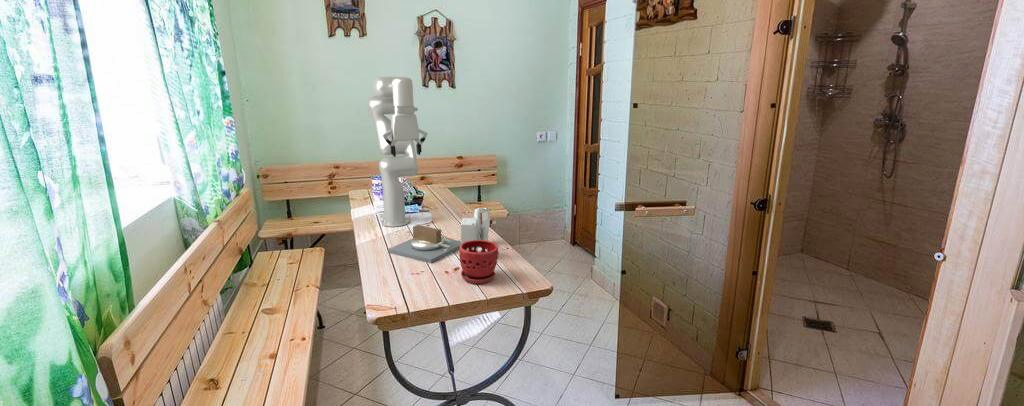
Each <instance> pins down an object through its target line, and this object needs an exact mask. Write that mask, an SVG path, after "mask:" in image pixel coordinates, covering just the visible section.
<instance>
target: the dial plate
mask: <svg viewBox="0 0 1024 406" xmlns="http://www.w3.org/2000/svg"><path fill="white" fill-rule="evenodd" d="M443 238H444V244H445V245H450V247H449V248H447V247H443V246H442V247H441V248H438V249H435V250H428V251H422V250H416V249H413V248H412V247H411V240H412V239H413V238H411V239H409V240H406V241H404V242H401V243H399V244H396V245H394V246H392V247H389V248H387V253H388V254H392V255H395V256H396V255H397V256H400V257H404V258H409V259H413V260H417V261H420V262H424V263H428V264H433V263H435V262H437V261H439V260H440V259H443V258H445V257H447V256H448V255H450V254H451V255H452V254H453V253H455V252H457V251H459V249H460V245H461V240H457V239H452V238H448V237H443Z"/></svg>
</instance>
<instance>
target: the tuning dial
mask: <svg viewBox="0 0 1024 406" xmlns="http://www.w3.org/2000/svg"><path fill="white" fill-rule="evenodd" d="M412 233H413V236H412V238H411V239H412V240H411V247H412V248H413V249H416V250H422V251H428V250H435V249H438V248H441V247H442V246H443V247H447V248H449V247H450V245H445V244H444V238H445V237H443V236H442V229H441V228H440V229H439V228H435V227H430V226H424V225H420V224H417V225H415V226H412Z"/></svg>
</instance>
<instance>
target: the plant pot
mask: <svg viewBox="0 0 1024 406" xmlns="http://www.w3.org/2000/svg"><path fill="white" fill-rule="evenodd" d="M473 247H474V250H472V248H473ZM477 247H478V248H480V249H481V251H478V252H477V251H476V248H477ZM467 248H468V249H469V250H468V251H466V250H467ZM458 251H459V263H460V266H461V269H462V270H461V271H460V272H461V273H460V276H461V278H462V279H463V280H464V281H465V282H468V283H470V284H471V283H472V284H484V283H488V282H490V281H492V280H493V279H494V278H495V276H496V272H495V269H496V268H497V264H498V260H499V259H498V257H499V246H498V244H496V243H495V242H493V241H489V240H488V241H485V240H472V241H467V242H464V243H462V244H461V245H460V249H459V250H458ZM463 259H464V260H463Z"/></svg>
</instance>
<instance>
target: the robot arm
mask: <svg viewBox="0 0 1024 406" xmlns="http://www.w3.org/2000/svg"><path fill="white" fill-rule="evenodd" d="M372 83H373V84H372V89H373V91H374V94H375V96H374V95H373V96H372V97H370V98H369V99H368V100H367V110H368V113H369V117H370V120H372V123H373V124H374V127H375V131H376V137H377V144H378V148H379V151H380V153H381V155H383V156H385V157H383V158H381V160H379V161H378V170H379V174H380V179H381V185H382V186H381V188H382V198H383V211H382V212H381V214H379V217H380V218H382V219H383V220H382V221H381V225H382V226H383V227H389V228H396V227H403V226H405V225H406V226H407V225H408V224H409V222H410V219H409V218H407V217H406V206H405V192H404V191H405V190H404V188H405V187H404V185H403V183H402V182H401V181H400V180H399V179H398V178H402V177H413V176H416V175H417V174H418V172H419V165H418V164H419V163H418V159H417V155H418V156H420V155H421V153H422V145H423V143H424V142H425V141H426V139H427V136H428V132H426V131H424V130H422V129H420V128H419V123H418V118H417V114H416V112H418V109H419V108H418V107H415V105H414V104H415V103H414V85H413V80H412V79H411V78H410V77H406V76H377V77H375V78H374V80H373V82H372ZM386 115H391V119H390V118H389V117H387V116H386ZM420 134H421V135H422V137H421V138H420ZM414 141H415V142H416V148H415V142H414ZM400 155H401V156H400ZM386 156H387V157H386Z"/></svg>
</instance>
